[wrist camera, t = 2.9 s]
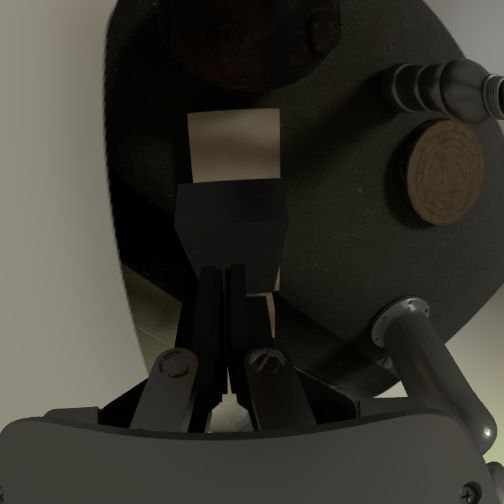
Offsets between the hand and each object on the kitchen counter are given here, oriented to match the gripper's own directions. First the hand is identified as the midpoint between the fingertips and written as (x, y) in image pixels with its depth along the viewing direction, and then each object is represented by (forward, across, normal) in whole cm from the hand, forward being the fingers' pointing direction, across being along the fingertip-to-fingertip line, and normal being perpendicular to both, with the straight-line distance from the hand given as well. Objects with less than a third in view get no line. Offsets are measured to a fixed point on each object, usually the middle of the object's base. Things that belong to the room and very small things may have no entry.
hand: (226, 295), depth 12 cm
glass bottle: (+27, -3, -17) cm, 32 cm away
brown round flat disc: (+27, -31, +1) cm, 41 cm away
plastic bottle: (+27, -22, -10) cm, 36 cm away
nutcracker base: (+27, -1, +6) cm, 27 cm away
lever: (+12, 0, +5) cm, 13 cm away
